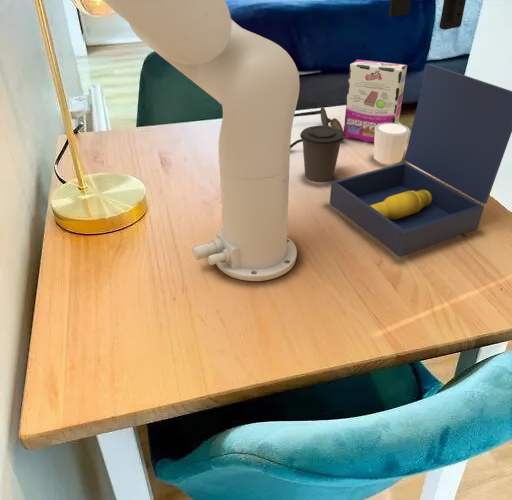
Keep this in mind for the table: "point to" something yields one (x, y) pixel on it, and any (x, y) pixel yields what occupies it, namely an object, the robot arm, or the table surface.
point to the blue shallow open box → (413, 226)
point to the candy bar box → (373, 97)
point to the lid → (460, 131)
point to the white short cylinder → (390, 142)
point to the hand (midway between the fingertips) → (423, 21)
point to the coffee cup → (320, 152)
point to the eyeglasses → (325, 122)
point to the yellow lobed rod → (403, 204)
